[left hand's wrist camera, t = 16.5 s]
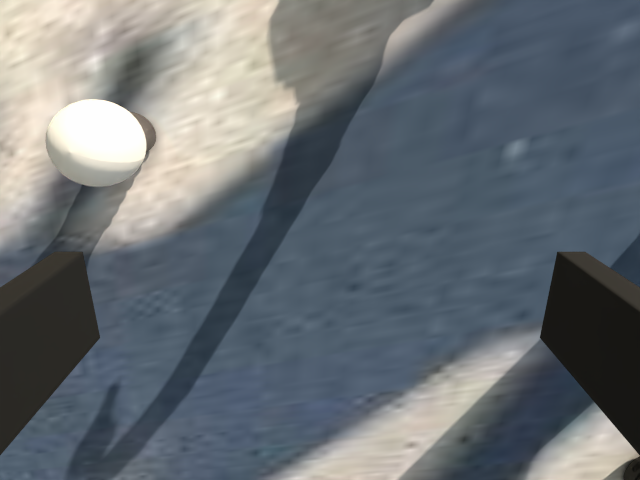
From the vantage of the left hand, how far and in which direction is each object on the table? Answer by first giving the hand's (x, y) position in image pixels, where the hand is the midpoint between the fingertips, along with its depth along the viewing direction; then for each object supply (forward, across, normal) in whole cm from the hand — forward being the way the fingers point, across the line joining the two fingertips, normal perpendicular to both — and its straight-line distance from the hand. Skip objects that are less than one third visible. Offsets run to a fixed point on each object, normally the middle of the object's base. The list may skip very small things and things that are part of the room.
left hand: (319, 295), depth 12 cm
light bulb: (+31, -18, +1) cm, 36 cm away
